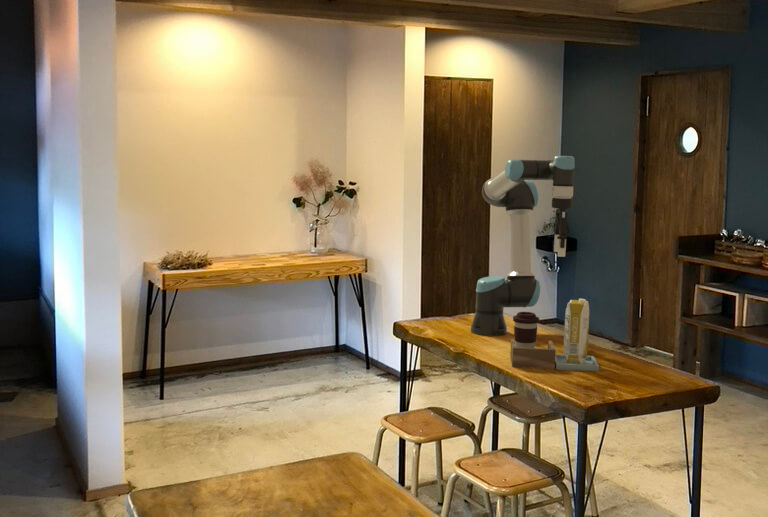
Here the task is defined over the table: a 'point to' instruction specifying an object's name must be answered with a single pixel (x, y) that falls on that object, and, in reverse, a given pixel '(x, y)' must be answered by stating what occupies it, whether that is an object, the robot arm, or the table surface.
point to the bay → (533, 356)
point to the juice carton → (576, 332)
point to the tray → (588, 365)
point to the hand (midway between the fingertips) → (559, 254)
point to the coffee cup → (525, 329)
